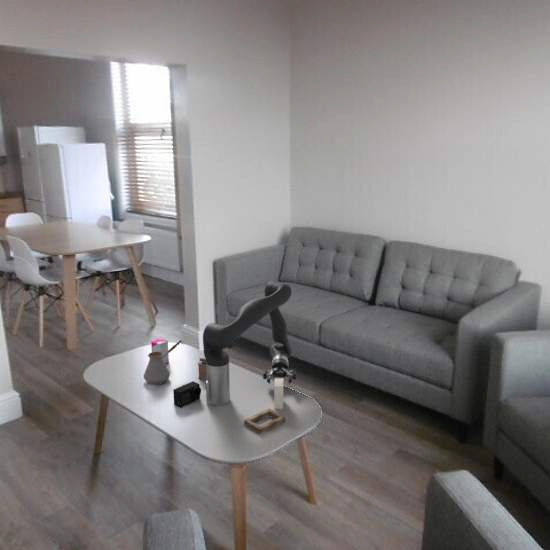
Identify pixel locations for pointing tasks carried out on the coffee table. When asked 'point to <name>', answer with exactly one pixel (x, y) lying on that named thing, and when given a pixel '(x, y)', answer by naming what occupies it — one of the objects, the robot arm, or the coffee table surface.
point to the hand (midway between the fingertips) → (279, 381)
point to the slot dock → (261, 429)
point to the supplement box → (161, 348)
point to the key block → (278, 394)
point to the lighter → (202, 369)
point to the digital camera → (186, 394)
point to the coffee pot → (157, 367)
